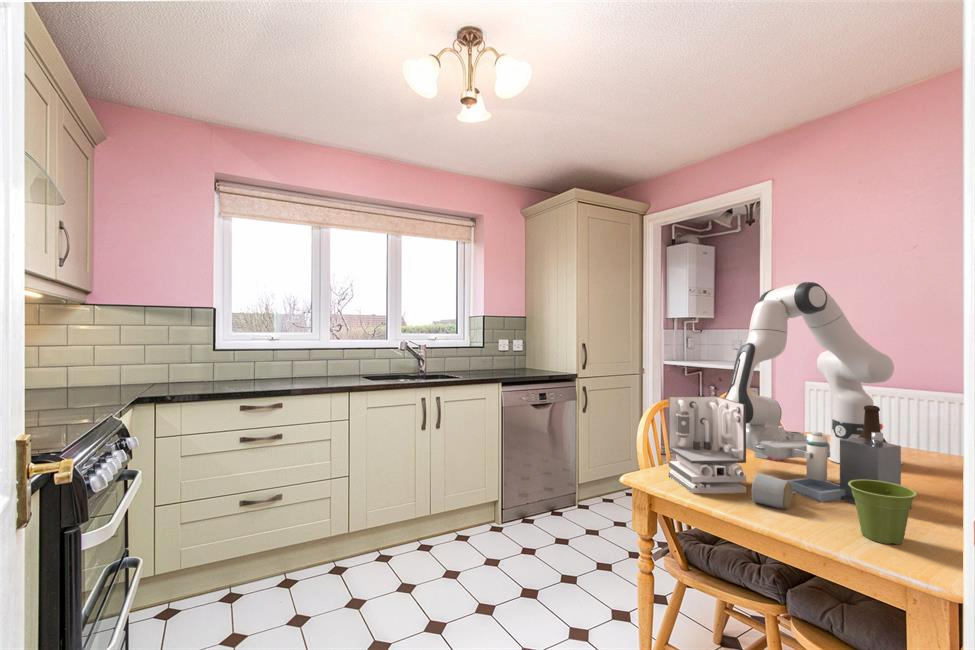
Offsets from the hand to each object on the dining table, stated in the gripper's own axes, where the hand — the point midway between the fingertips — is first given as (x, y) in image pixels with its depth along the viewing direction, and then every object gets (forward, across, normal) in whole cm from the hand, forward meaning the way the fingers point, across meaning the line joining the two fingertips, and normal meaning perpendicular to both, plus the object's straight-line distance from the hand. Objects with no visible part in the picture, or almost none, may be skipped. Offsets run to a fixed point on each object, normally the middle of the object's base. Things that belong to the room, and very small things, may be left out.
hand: (819, 455), depth 135 cm
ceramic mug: (+2, -19, +11) cm, 22 cm away
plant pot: (+25, -13, +11) cm, 30 cm away
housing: (+8, +7, +11) cm, 15 cm away
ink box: (-34, +17, +11) cm, 40 cm away
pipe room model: (-16, -25, +12) cm, 31 cm away
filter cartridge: (-1, 0, +7) cm, 7 cm away
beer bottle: (0, +19, +11) cm, 22 cm away
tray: (-1, 0, +11) cm, 11 cm away
